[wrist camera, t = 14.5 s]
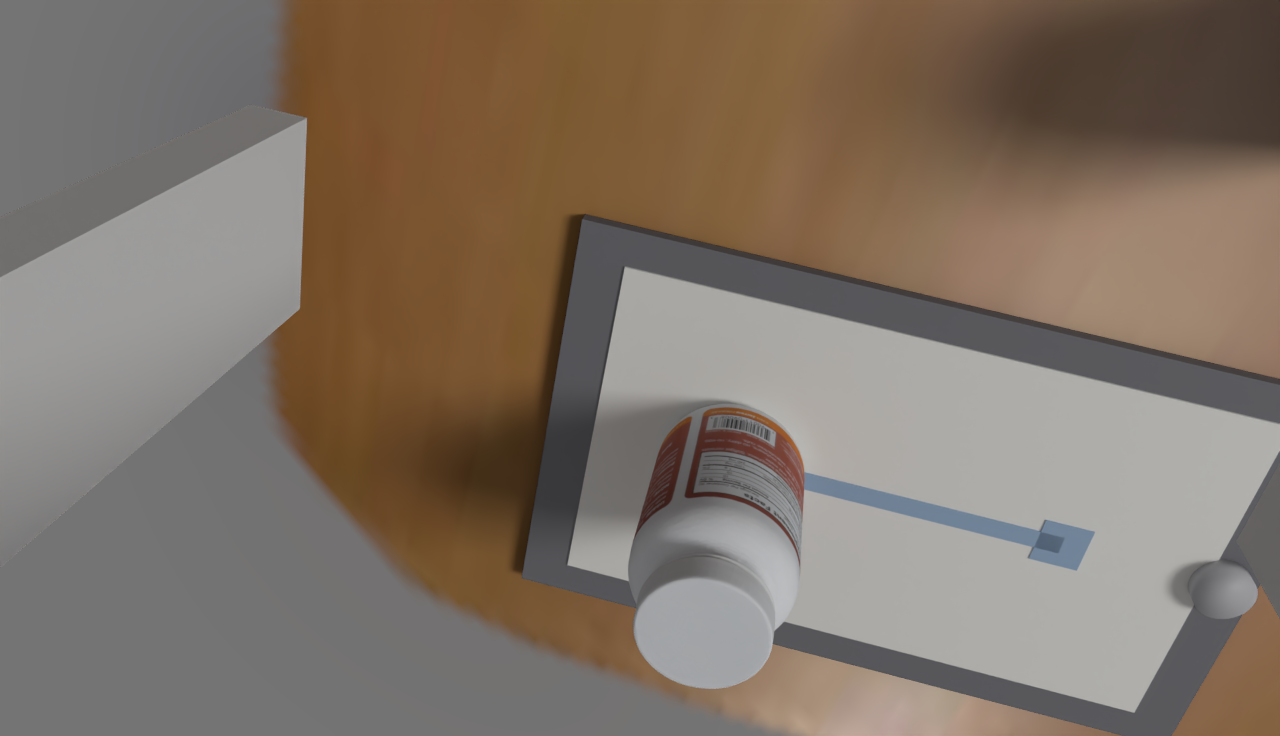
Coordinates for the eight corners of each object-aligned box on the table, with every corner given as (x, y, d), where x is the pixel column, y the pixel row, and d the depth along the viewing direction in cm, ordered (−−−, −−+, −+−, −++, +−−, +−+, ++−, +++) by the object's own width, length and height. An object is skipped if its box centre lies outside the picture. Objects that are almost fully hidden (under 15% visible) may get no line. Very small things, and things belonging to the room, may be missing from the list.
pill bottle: (699, 541, 47) (661, 726, 37) (633, 429, 45) (575, 593, 35) (830, 497, 45) (826, 681, 35) (767, 376, 43) (745, 535, 33)
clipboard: (585, 214, 42) (577, 225, 41) (1358, 397, 40) (1374, 415, 39) (525, 570, 50) (517, 588, 49) (1161, 736, 48) (1169, 760, 47)
